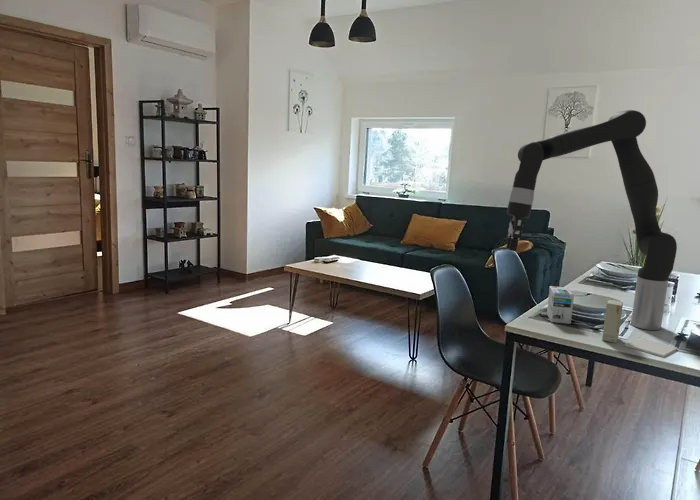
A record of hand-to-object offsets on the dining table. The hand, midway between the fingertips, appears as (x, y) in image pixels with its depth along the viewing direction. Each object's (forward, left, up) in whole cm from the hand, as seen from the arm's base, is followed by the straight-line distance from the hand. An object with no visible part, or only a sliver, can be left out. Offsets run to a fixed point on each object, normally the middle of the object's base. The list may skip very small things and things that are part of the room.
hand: (510, 249), depth 177 cm
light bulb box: (-19, +10, -25) cm, 33 cm away
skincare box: (-13, +31, -25) cm, 42 cm away
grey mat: (-16, +42, -25) cm, 51 cm away
